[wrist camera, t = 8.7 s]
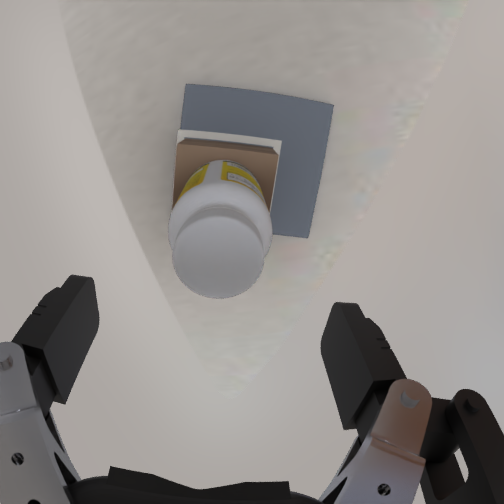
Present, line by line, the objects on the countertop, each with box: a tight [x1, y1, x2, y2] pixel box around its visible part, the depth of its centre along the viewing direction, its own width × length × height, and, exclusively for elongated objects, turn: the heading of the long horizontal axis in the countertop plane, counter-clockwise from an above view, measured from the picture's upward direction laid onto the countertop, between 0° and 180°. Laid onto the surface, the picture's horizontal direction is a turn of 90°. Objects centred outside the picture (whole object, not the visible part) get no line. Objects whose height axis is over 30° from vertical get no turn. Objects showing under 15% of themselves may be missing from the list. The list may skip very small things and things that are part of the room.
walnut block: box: [172, 138, 279, 212], centre depth 24 cm, size 7×7×4 cm
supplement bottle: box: [168, 160, 272, 298], centre depth 18 cm, size 5×5×10 cm
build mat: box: [171, 84, 334, 238], centre depth 26 cm, size 12×12×1 cm
